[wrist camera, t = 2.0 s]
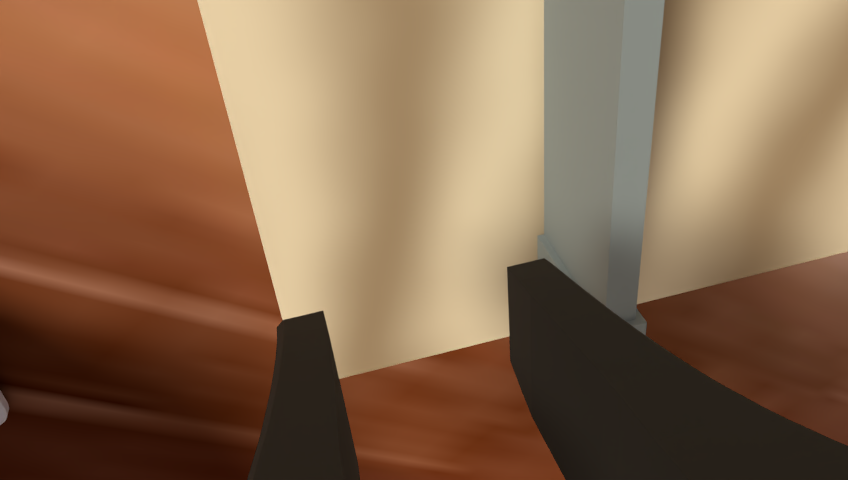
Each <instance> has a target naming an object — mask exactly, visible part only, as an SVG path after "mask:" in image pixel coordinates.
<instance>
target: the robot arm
mask: <svg viewBox="0 0 848 480" xmlns="http://www.w3.org/2000/svg"><path fill="white" fill-rule="evenodd" d="M507 280H508V308H509V335H510V361H511V364H512V366H513V369H514V372H515V374H516V377H517V379H518V382H519V385H520V387H521V390H522V393H523V395H524V398H525V400H526V403H527V405H528V408H529V410H530V413H531V415H532V417H533V419H534V421H535V423H536V425H537V427H538V429H539V431H540V433H541V434H542V436H543V438H544V440H545V442H546V444H547V446H548V448H549V449H550V451H551V453H552V455H553V457H554V459H555V461H556V463H557V464H558V466H559V468H560V470H561V472H562V474H563V475H564V477H565V479H566V480H848V446H846V445H844V444H842V443H839V442H837V441H834V440H832V439H830V438H828V437H826V436H823V435H821V434H819V433H817V432H815V431H812V430H810V429H808V428H806V427H804V426H801V425H799V424H797V423H795V422H793V421H790V420H788V419H786V418H784V417H782V416H780V415H778V414H776V413H774V412H772V411H770V410H768V409H766V408H764V407H762V406H760V405H758V404H757V403H755V402H753V401H751V400H749V399H747V398H745V397H744V396H742V395H740V394H738V393H736V392H734V391H733V390H731V389H729V388H727V387H725V386H723V385H721V384H720V383H718V382H716V381H715V380H713V379H711V378H710V377H708V376H706V375H705V374H703V373H701V372H700V371H698V370H697V369H695V368H693V367H692V366H690V365H689V364H687V363H686V362H684V361H683V360H681V359H679V358H678V357H676V356H675V355H673V354H672V353H670V352H669V351H667V350H666V349H664V348H663V347H661V346H660V345H658V344H657V343H656V342H654V341H653V340H651V339H650V338H648V337H647V336H646V335H644V334H643V333H642V332H640V331H639V330H637V329H636V328H635V327H633V326H632V325H630V324H629V323H628V322H626V321H625V320H623V319H622V318H621V317H619V316H618V315H617V314H615V313H614V312H613V311H611V310H610V309H609V308H607V307H606V306H605V305H604V304H602V303H601V302H600V301H598V300H597V299H596V298H595V297H593V296H592V295H591V294H589V293H588V292H587V291H586V290H584V289H583V288H582V287H581V286H579V285H578V284H577V283H576V282H574V281H573V280H572V279H571V278H569V277H568V276H567V275H566V274H564V273H563V272H562V271H561V270H559V269H558V268H557V267H556V266H554V265H553V264H552V263H551V262H549V261H548V260H546V259H545V258H543V259H539V260H534V261H530V262H526V263H522V264H517V265H513V266H509V267H507ZM8 411H9V405H8V402H7V401H6V399H5V397H4V396H3V394H2V392H1V391H0V425H1V424H2V423H4V422H5V421H6V418H7V416H8ZM247 480H360V476H359V468H358V462H357V457H356V453H355V448H354V444H353V439H352V435H351V430H350V426H349V421H348V417H347V412H346V408H345V403H344V399H343V394H342V390H341V385H340V381H339V376H338V372H337V367H336V363H335V358H334V354H333V349H332V345H331V340H330V336H329V332H328V328H327V324H326V320H325V316H324V311H319V312H315V313H310V314H306V315H302V316H298V317H293V318H289V319H285V320H283V321H282V322H281V323H280V324H279V326H278V327H277V349H276V360H275V367H274V374H273V379H272V385H271V391H270V396H269V400H268V405H267V409H266V413H265V418H264V422H263V427H262V431H261V435H260V438H259V442H258V446H257V449H256V452H255V455H254V459H253V462H252V465H251V469H250V472H249V475H248V479H247Z"/></svg>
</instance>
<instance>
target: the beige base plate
mask: <svg viewBox="0 0 848 480" xmlns="http://www.w3.org/2000/svg"><path fill="white" fill-rule="evenodd" d="M197 1H198V4H199V8H200V12H201V16H202V19H203V23H204V27H205V31H206V34H207V38H208V42H209V46H210V49H211V53H212V57H213V61H214V64H215V68H216V72H217V76H218V79H219V83H220V87H221V91H222V94H223V98H224V102H225V106H226V109H227V113H228V117H229V121H230V124H231V128H232V132H233V136H234V139H235V143H236V147H237V151H238V154H239V158H240V162H241V166H242V169H243V173H244V177H245V181H246V184H247V188H248V192H249V196H250V199H251V203H252V207H253V211H254V214H255V218H256V222H257V226H258V229H259V233H260V237H261V241H262V244H263V248H264V252H265V256H266V259H267V263H268V267H269V271H270V274H271V278H272V282H273V286H274V289H275V293H276V297H277V301H278V304H279V308H280V312H281V316H282V319H283V320H285V319H289V318H293V317H298V316H302V315H306V314H310V313H315V312H319V311H324V316H325V320H326V324H327V328H328V332H329V336H330V340H331V345H332V349H333V354H334V358H335V363H336V367H337V372H338V376H339V379H340V378H344V377H348V376H352V375H356V374H360V373H364V372H368V371H372V370H376V369H380V368H384V367H388V366H392V365H396V364H400V363H404V362H408V361H412V360H416V359H420V358H424V357H428V356H432V355H436V354H440V353H444V352H448V351H452V350H456V349H460V348H464V347H468V346H472V345H476V344H480V343H484V342H488V341H492V340H496V339H500V338H504V337H508V336H510V335H509V308H508V280H507V267H509V266H513V265H517V264H522V263H526V262H530V261H534V260H538V254H537V236H538V235H542V234H544V0H197ZM844 252H848V0H665V3H664V14H663V25H662V36H661V47H660V57H659V68H658V79H657V90H656V101H655V112H654V123H653V133H652V144H651V155H650V166H649V177H648V188H647V199H646V210H645V220H644V231H643V242H642V253H641V264H640V275H639V286H638V296H637V304H640V303H644V302H648V301H652V300H656V299H660V298H664V297H668V296H672V295H676V294H680V293H684V292H688V291H692V290H696V289H700V288H704V287H708V286H712V285H716V284H720V283H724V282H728V281H732V280H736V279H740V278H744V277H748V276H752V275H756V274H760V273H764V272H768V271H772V270H776V269H780V268H784V267H788V266H792V265H796V264H800V263H804V262H808V261H812V260H816V259H820V258H824V257H828V256H832V255H836V254H840V253H844Z"/></svg>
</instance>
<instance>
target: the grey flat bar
mask: <svg viewBox="0 0 848 480" xmlns="http://www.w3.org/2000/svg"><path fill="white" fill-rule="evenodd" d="M664 3H665V0H544V234H542V235H538V236H537V254H538V260H539V259H543V258H545V259H546V260H548V261H549V262H551V263H552V264H553V265H554V266H556V267H557V268H558V269H559V270H561V271H562V272H563V273H564V274H566V275H567V276H568V277H569V278H571V279H572V280H573V281H574V282H576V283H577V284H578V285H579V286H581V287H582V288H583V289H584V290H586V291H587V292H588V293H589V294H591V295H592V296H593V297H595V298H596V299H597V300H598V301H600V302H601V303H602V304H604V305H605V306H606V307H607V308H609V309H610V310H611V311H613V312H614V313H615V314H617V315H618V316H619V317H621V318H622V319H623V320H625V321H626V322H628V323H629V324H630V325H632V326H633V327H635V328H636V329H637V330H639V331H640V332H642V333H643V334H644V335H646V326H647V322H646V321H645V319H644V318H643V316H642V315H641V314H640V312H639V311H638V309H637V308H636V307H637V296H638V286H639V275H640V264H641V253H642V242H643V231H644V220H645V210H646V199H647V188H648V177H649V166H650V155H651V144H652V133H653V123H654V112H655V101H656V90H657V79H658V68H659V57H660V47H661V36H662V25H663V14H664Z"/></svg>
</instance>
